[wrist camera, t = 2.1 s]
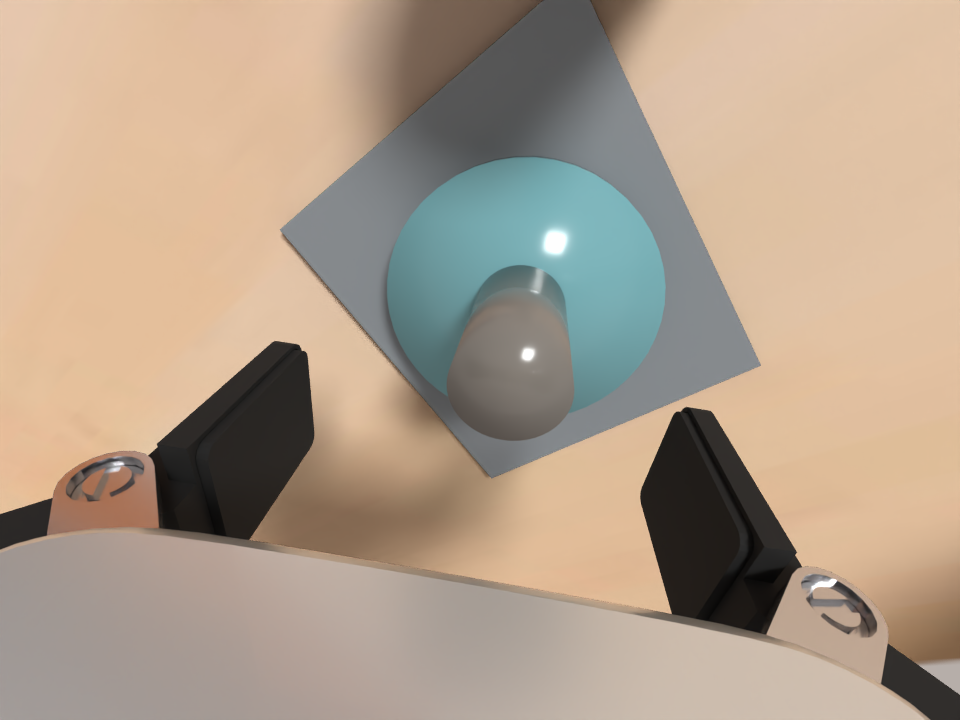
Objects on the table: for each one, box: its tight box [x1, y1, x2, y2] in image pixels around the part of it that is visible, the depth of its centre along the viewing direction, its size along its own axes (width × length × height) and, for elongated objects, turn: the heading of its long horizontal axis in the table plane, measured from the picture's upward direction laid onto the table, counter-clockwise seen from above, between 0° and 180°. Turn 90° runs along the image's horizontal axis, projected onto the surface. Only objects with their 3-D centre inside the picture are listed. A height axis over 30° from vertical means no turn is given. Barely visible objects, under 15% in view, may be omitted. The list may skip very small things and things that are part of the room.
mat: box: [280, 0, 761, 478], centre depth 19 cm, size 16×14×1 cm
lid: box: [387, 156, 666, 441], centre depth 15 cm, size 11×11×7 cm
